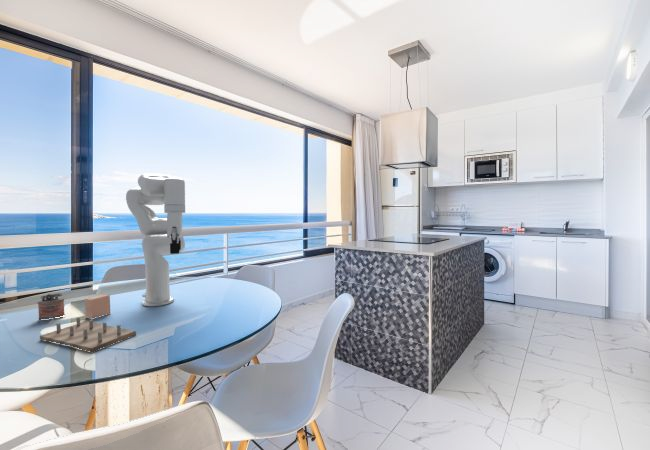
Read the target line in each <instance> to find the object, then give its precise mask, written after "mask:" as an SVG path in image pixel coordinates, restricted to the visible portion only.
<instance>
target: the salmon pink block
mask: <svg viewBox="0 0 650 450" xmlns="http://www.w3.org/2000/svg"><path fill="white" fill-rule="evenodd" d="M110 297H111V296H110V294H98V295H95V296H91V297H87V298H85V299H84V310H85V311H84V312H85V313H84V314H85V318H86V317H89V318H95V317H99V316H102V315H106V314H110V313H111V298H110ZM110 315H111V314H110Z"/></svg>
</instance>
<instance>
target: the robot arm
mask: <svg viewBox="0 0 650 450" xmlns="http://www.w3.org/2000/svg"><path fill="white" fill-rule="evenodd" d="M137 185H138V186H139V187H133V188H130V189H128V190H127V191H126V194H125V200H126V205H127V208H128V209H129V211H130V212H131V214H132V215H133V216H134V218H135V219H136V222H137V225H138V228H139V231H140V233H141V235H142V236H143V239H142V241H141V247H142V252H143V257H144V268H145V269H144V270H145V293H142V295H141V296H142V297H143V298H145V299H144V300H143V301H142V305H143V306H144V307H160V306H165V305H169V304H171V303H172V302H174V300H175V299H174V297H173V296H171V293H170V292H171V291H170V290H171V289H170V265H169V261H167V259H166V258H165V257H164V256H163V255H173V254H174V255H177V254H180V253H181V252H183V251H184V249H185V245H186V241H185V238H184V236H183V214H186V183H185V180H184V179H183V178H179V177H171V176H170V175H169V174H165V173H164V174H163V173H162V174H161V173H150V172H147V173H146V172H145V173H143V174H141V175H140V176H139V177H138V178H137ZM149 206H163V207H164V208H163V209H164V214H166V217H163V218H162V217H157V215H156V213H155V211H154V210H153V209H151V208H150V207H149Z"/></svg>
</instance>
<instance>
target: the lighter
mask: <svg viewBox="0 0 650 450" xmlns="http://www.w3.org/2000/svg"><path fill="white" fill-rule="evenodd" d="M40 296H41V300H37V306H38V307H37V309H38V319H39V320H41V319H49V318H55V317H60V316H63V315H65V316H66V314H65V297H62V296H63V293H62V292H57V293H56V292H55V293H52V292H50V293H48V294H42V295H40Z"/></svg>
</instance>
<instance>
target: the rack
mask: <svg viewBox="0 0 650 450" xmlns="http://www.w3.org/2000/svg"><path fill="white" fill-rule="evenodd" d="M75 320H76V324H73V325H70V326H67V327H64V328H61V323H60V322H57V323H56V324H55V325H56V330H54V331H51V332H47V333H44V334H42V335H39V340H40V339H42V340H46V341H51V342H56V343H60V344H65V345H70V346H73V347H77V348H79V349H82V350H86V351H90V352H93V353H95V352H94V351H96V350H98V349H100V348H103V347H106V346H108V345H111V344H113V343H115V344H117V343H116V342H118V341H120V342H122V341H121V340H123V341H125V340H127V339H126V338H128V337H130V338H132V337H131V336H133V335H135V336H136V335H137V331H136V330H133V329H128V328H124V327H121V326H122V325H121V324H117V325H116V326H113V325H109V324H108V325H107V322H106V321H104V322H102V323H97V322H94V320H90V319H88V320H89V321H86V320H85V321H83V322H81V317H79V316H77V317H76V319H75ZM133 337H134V336H133ZM124 339H125V340H124ZM128 339H129V338H128ZM118 343H119V342H118ZM113 345H114V344H113ZM111 346H112V345H111ZM108 347H109V346H108ZM106 348H107V347H106ZM103 349H104V348H103ZM98 351H99V350H98ZM96 352H97V351H96Z"/></svg>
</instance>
